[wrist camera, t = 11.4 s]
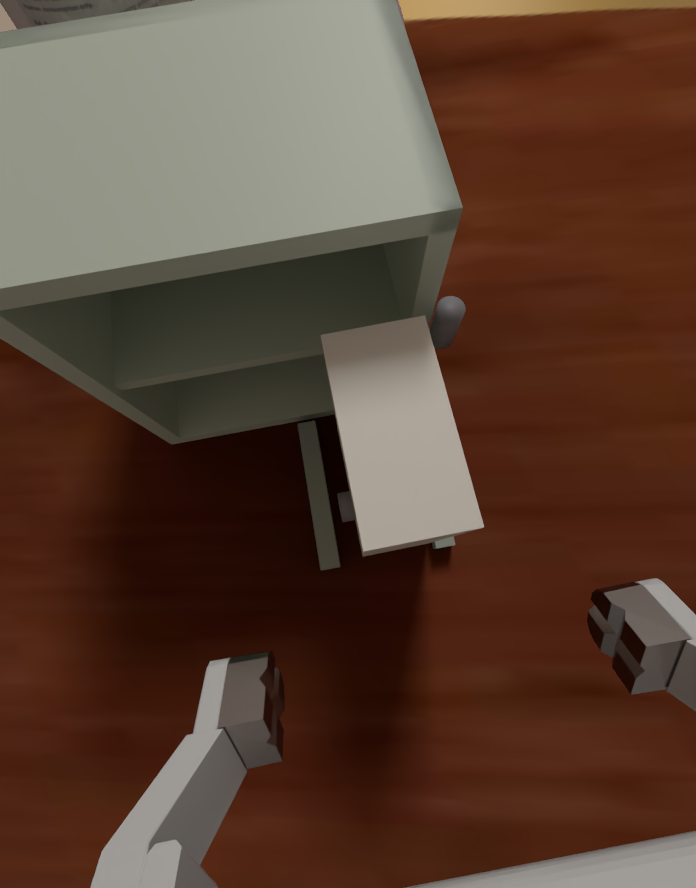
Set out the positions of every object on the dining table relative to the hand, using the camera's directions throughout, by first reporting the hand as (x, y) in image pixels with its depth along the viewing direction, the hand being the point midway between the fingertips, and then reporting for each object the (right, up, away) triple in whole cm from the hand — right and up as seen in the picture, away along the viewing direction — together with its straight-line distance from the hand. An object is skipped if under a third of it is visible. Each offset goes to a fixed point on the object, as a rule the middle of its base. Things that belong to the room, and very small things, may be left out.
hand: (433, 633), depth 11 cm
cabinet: (-5, +7, +14) cm, 17 cm away
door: (0, +2, +13) cm, 13 cm away
